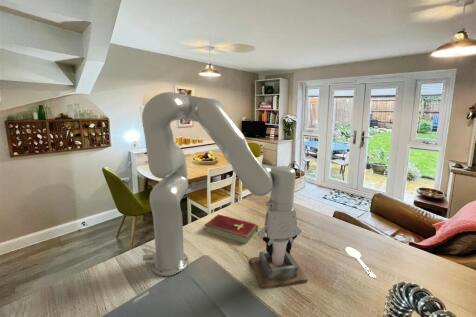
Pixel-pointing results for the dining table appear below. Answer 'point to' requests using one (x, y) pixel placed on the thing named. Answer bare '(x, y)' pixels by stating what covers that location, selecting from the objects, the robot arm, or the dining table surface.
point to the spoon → (357, 255)
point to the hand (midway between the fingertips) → (278, 251)
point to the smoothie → (279, 250)
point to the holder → (277, 271)
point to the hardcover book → (231, 228)
